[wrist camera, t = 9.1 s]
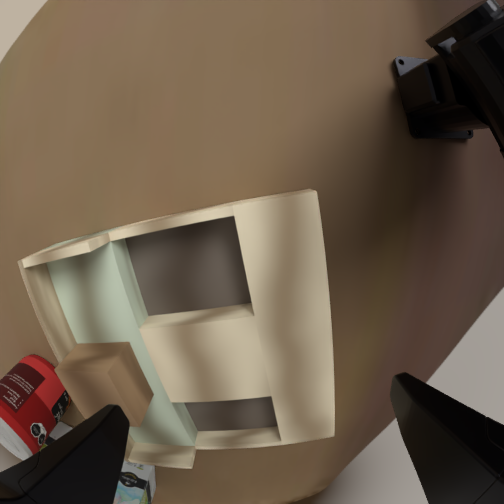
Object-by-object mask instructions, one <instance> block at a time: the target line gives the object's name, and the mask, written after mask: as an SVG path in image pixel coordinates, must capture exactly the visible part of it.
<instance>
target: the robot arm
mask: <svg viewBox="0 0 504 504" xmlns="http://www.w3.org/2000/svg"><path fill="white" fill-rule="evenodd" d="M426 42H427V43H428V45H429V46H430V47H431V48H432V47H433V48H434V49H435V51H436V52H437V53H438V54H437V55H435V56H434V57H432V58H430V59H428V60H427V59H420V58H411V57H401V56H398V57H396V58H395V59H394V61H393V63H394V66H395V70H396V73H397V77H398V79H397V82H398V85H399V89H400V93H401V97H402V101H403V106H404V110H405V111H406V113H407V118H408V123H409V128H410V133H411V135H412V137H413V138H415V139H430V138H456V139H470V138H472V137H473V130H475V129H484V128H490V130H491V132H492V133H493V135H494V137H495V139H496V141H497V143H498V145H499V147H500V152H501V154H502V156H503V158H504V6H502V7H500V6H499V5H498V3H497V2H496V1H495V0H483V1H481V2H479V3H477V4H475V5H473V6H472V7H470V8H469V9H467V10H466V11H464V12H463V13H461V14H460V15H458V16H457V17H455V18H454V19H453V20H451V21H450V22H449V23H447V24H446V25H445V26H443V27H442V28H441V29H440V30H438V31H437V32H436V33H434V34H433V35H432V36H431V37H429V38H428V39H427V40H426ZM398 61H400V62H401V63H402V65H401V64H399V62H398ZM416 129H417V130H418V135H417V134H416V132H415V130H416ZM467 131H468V133H467ZM390 398H391V402H392V405H393V408H394V412H395V415H396V418H397V421H398V425H399V428H400V432H401V435H402V438H403V441H404V443H405V446H406V448H407V450H408V453H409V455H410V457H411V460H412V462H413V465H414V467H415V470H416V472H417V475H418V477H419V480H420V482H421V485H422V487H423V490H424V492H425V495H426V498H427V500H428V503H429V504H504V425H503V424H501V423H499V422H497V421H495V420H493V419H491V418H489V417H486V416H485V415H483V414H481V413H479V412H477V411H475V410H474V409H472V408H470V407H467V406H466V405H464V404H462V403H461V402H459V401H457V400H455V399H453V398H451V397H449V396H448V395H446V394H444V393H442V392H440V391H439V390H437V389H435V388H433V387H431V386H429V385H428V384H426V383H424V382H422V381H421V380H419V379H417V378H415V377H414V376H412V375H410V374H408V373H406V372H403V373H400V374H397V375H394V376H393V379H392V385H391V392H390ZM129 428H130V422H129V419H128V418H127V416H126V415H125V413H124V411H123V410H122V408H121V407H120V406H119V405H117V404H108V405H106V406H105V407H103V408H102V409H100V410H99V411H98V412H96V413H95V414H93V415H92V416H90V417H89V418H88V419H86V420H85V421H83V422H82V423H80V424H79V425H77V426H76V427H74V428H73V429H72V430H70V431H69V432H67V433H66V434H64V435H63V436H61V437H60V438H58V439H57V440H55V441H54V442H52V443H51V444H49V445H48V446H46V447H45V448H43V449H41V451H38V452H37V453H35V454H34V455H32V456H31V457H29V458H27V459H26V460H24V461H22V462H20V463H18V464H17V465H14V466H12V467H10V468H8V469H6V470H4V471H2V472H0V504H113V503H114V498H115V494H116V490H117V486H118V482H119V478H120V474H121V471H122V467H123V463H124V458H125V452H126V446H127V440H128V434H129Z"/></svg>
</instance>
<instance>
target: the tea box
mask: <svg viewBox="0 0 504 504" xmlns="http://www.w3.org/2000/svg"><path fill="white" fill-rule="evenodd" d="M72 429H73V428H72V427H70V426H69V425H67V424H65V423H63V422H62V421H61V422H58V424H57V425H56V426H55V428H54V429H53V430H52V432H51V433H50V435H49V436H48V438H47V439H46V441H45V442H44V444H43V446H42V447H41V449H43V448H45V447H46V446H48V445H49V444H51V443H52V442H54V441H55V440H57V439H58V438H60V437H61V436H63V435H64V434H66V433H67V432H69V431H70V430H72ZM41 449H40V450H39V451H41ZM155 489H156V482H155V466H153V465H145V464H138V463H132V462H126V461H125V460H124V463H123V467H122V471H121V474H120V478H119V482H118V486H117V490H116V494H115V498H114V503H113V504H151V502H152V499H153V496H154V492H155Z"/></svg>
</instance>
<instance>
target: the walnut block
mask: <svg viewBox="0 0 504 504" xmlns="http://www.w3.org/2000/svg"><path fill="white" fill-rule="evenodd" d="M54 370H55V372H56V374H57V376H58V377H59V379H60V381H61V382H62V384H63V386H64V387H65V389H66V391H67V392H68V394H69V396H70V397H71V399H72V400H73V402H74V403H75V405H76V406H77V408H78V409H79V411H80V412H81V414H82V415H83V417H84V418H85V419H88V418H89V417H90V416H92V415H93V414H95V413H96V412H98V411H99V410H100V409H102V408H103V407H105V406H106V405H108V404H117V405H119V406H120V407H121V408H122V410H123V411H124V413H125V415H126V416H127V418H128V419H129V422H130V426H131V427H140V426H141V423H142V421H143V419H144V416H145V414H146V412H147V409H148V407H149V405H150V402H151V400H152V398H153V396H154V393H153V391H152V389H151V387H150V385H149V383H148V381H147V379H146V377H145V375H144V373H143V371H142V369H141V367H140V365H139V362H138V360H137V358H136V356H135V354H134V351H133V349H132V347H131V345H130V342H109V343H78V344H77V345H76V346H75V347H74V348H73V349H72V350H71V352H70V353H69V354H68V355H67V356H66V357H65V358H64V359H63V360H62V361H61V363H60V364H59V365H58V366H57V367H56V368H55V369H54Z"/></svg>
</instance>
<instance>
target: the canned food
mask: <svg viewBox="0 0 504 504" xmlns="http://www.w3.org/2000/svg"><path fill="white" fill-rule="evenodd" d="M54 369H55V367H54V366H53V365H52V364H50V363H49V362H48V361H46V360H45V359H44V358H42V357H40V356H37V355H29V356H26V357H24V358H23V359H22V360H21V361H20V362H19V363H18V364H17V365H16V366H15V367H13V368H12V369H11V370H10V371H9V372H8V373H7V374H6V375H5V376H4V377H3V378H2V379H1V380H0V443H1V444H2V445H3V446H4V447H5V448H6V449H8V450H9V451H10V452H11V453H13V454H14V455H15V456H17V457H18V458H20V459H21V460H26V459H27V458H29V457H31V456H32V455H34V454H35V453H37V452H38V451H39V450H40V449H41V447H42V446H43V444H44V442H45V441H46V439H47V438H48V436H49V435H50V433H51V432H52V430H53V429H54V427H55V426H56V424H57V423H58V421H59V420H60V418H61V417H62V415H63V414H64V412H65V411H66V410H67V408H68V407H69V405H70V401H71V397H70V396H69V394H68V392H67V391H66V389H65V387H64V386H63V384H62V382H61V381H60V379H59V377H58V376H57V374H56V372H55V370H54Z"/></svg>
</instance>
